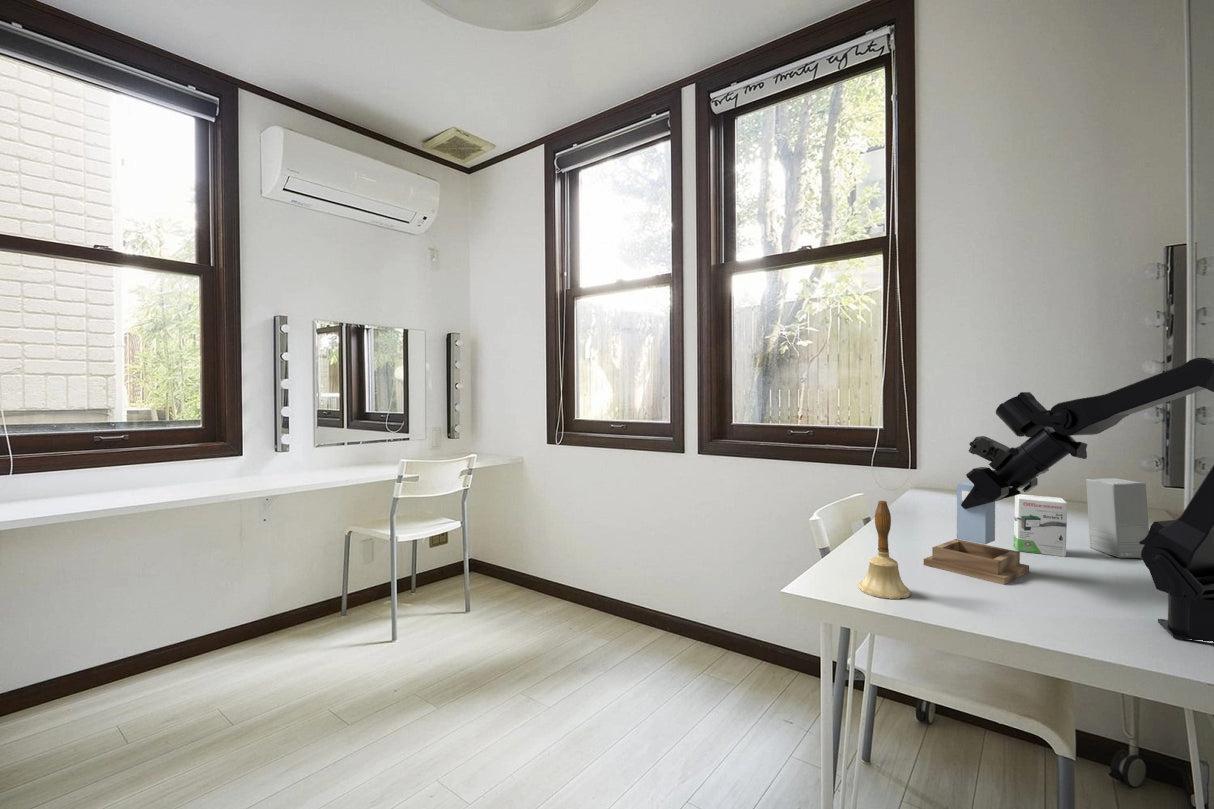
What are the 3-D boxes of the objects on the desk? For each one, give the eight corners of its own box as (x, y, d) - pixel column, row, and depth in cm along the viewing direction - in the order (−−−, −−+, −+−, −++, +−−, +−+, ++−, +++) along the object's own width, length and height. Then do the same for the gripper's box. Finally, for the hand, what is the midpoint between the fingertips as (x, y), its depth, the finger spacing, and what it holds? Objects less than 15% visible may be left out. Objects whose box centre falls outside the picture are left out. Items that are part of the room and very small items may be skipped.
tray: (1004, 584, 99) (1004, 564, 99) (923, 564, 111) (923, 546, 111) (1029, 571, 106) (1029, 552, 106) (950, 554, 118) (950, 537, 118)
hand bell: (870, 599, 93) (871, 506, 92) (850, 582, 101) (850, 496, 101) (920, 599, 93) (921, 506, 92) (895, 582, 101) (896, 496, 100)
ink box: (1016, 551, 119) (1017, 497, 119) (1013, 545, 124) (1013, 493, 123) (1067, 557, 115) (1068, 501, 115) (1062, 551, 119) (1062, 497, 119)
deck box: (985, 544, 105) (985, 487, 105) (956, 538, 109) (956, 483, 109) (995, 540, 107) (995, 484, 107) (966, 535, 112) (967, 481, 111)
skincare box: (1151, 559, 113) (1153, 483, 112) (1112, 558, 114) (1113, 482, 113) (1120, 548, 121) (1121, 476, 121) (1083, 546, 122) (1084, 476, 122)
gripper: (1018, 421, 110) (958, 469, 119) (979, 424, 99) (915, 478, 108) (1068, 464, 103) (999, 512, 113) (1031, 473, 93) (959, 525, 102)
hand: (968, 505), depth 109 cm, fingers closed on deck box, 5 cm apart
